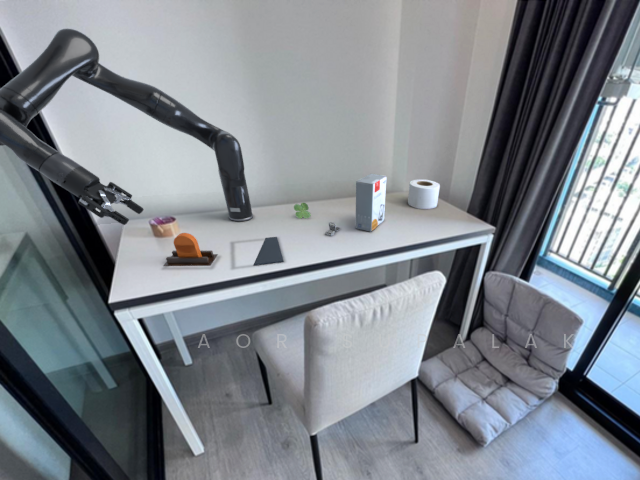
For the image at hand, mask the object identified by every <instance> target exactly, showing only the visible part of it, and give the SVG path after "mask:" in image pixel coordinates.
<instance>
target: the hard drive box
mask: <svg viewBox="0 0 640 480" xmlns="http://www.w3.org/2000/svg"><path fill="white" fill-rule="evenodd" d="M386 192H387V176H386V175H381V174H375V173H369V174H368V175H365V176H364V177H361V178H360V179H357V180H356V181H355V229H357V230H361V231H365V232H366V231H367V232H372V231H373V230H375V229H376V228H377V227H378V226H380V225H381V224H382V223H383V222H384V221H385V212H386V211H385V210H386V194H387V193H386Z"/></svg>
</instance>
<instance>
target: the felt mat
mask: <svg viewBox="0 0 640 480" xmlns="http://www.w3.org/2000/svg"><path fill="white" fill-rule="evenodd" d="M284 262H285V261H284V257H283V254H282V250H281V246H280V243H279V239H278V236H271V237H265V238H264V240H263V243H262V245H261V247H260V249H259V251H258V253H257V256H256V258H255V260H254V262H253V265H252V266H253V267H255V266H261V265H270V264H279V263H284Z"/></svg>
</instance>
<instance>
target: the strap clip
mask: <svg viewBox="0 0 640 480" xmlns="http://www.w3.org/2000/svg"><path fill="white" fill-rule="evenodd" d="M328 228H329V229H328V230H327V231H325V236H327V237H328V236H329V237H332V236H334V235H335V233H337V232H338V231H340V229H341V228H340V227H338V226H337V225H336V223H335V222H333V221H330V222H328Z"/></svg>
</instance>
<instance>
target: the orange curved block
mask: <svg viewBox="0 0 640 480" xmlns="http://www.w3.org/2000/svg"><path fill="white" fill-rule="evenodd" d="M173 246H174V248H175V251H177V254H178V257H202V255H201V251H202V250H201V248H200V245H199V242H198V239H197V238H196V237H195V236H194V235H193V234H191V233H188V232H181V233H178V234H177V236H176V237H175V238H174V239H173Z"/></svg>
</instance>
